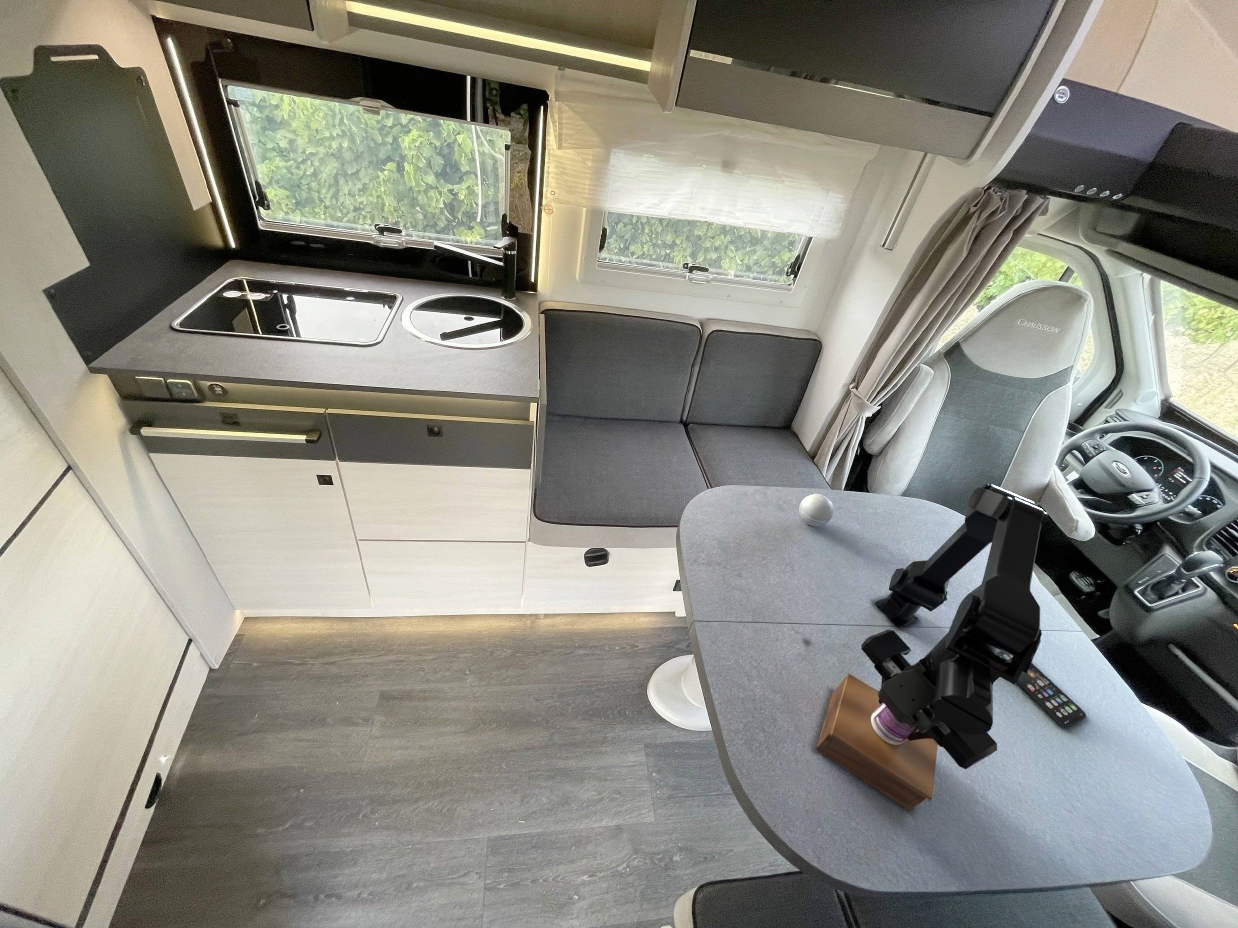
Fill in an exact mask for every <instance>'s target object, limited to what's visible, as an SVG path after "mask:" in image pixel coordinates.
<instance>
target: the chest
mask: <svg viewBox="0 0 1238 928" xmlns="http://www.w3.org/2000/svg"><path fill="white" fill-rule="evenodd" d="M846 677H847V675H846V676H845V678H843V680H842V681H841V682H840V684H838V685H837V687H836V688H835V689H834V690H833V692H832V693H831V697H830V700H829V703H828V707H827V710H826V713H825V717H824V720H823V724H822V727H821V729H820V733H819V736H818V740H817V744H816V747H815V748H816V750H818V751H819V752H820V753H822V754H823V755H825V756H826V757H828V758H830V760H833V761H834V762H835V763H837V764H839V765H840V766H842V767H843V768H845V769H846V770H847V771H849V772H850V773H852V774H854V775H855V776H856V777H858V778H859V779H861V780H863V781H864V782H866V783H867V784H869V785H870V786H872V787H873V788H875V789H876V790H878V791H879V792H880V793H882V794H883V795H885V796H887V797H888V798H890V799H892V800H893V801H894V802H896V803H897V804H899V805H900V806H902V807H903V808H905V809H907V810H908V811H911V810H912V809H915V808H916V807H917V806H918V805H920V804H921V803H923V802H924V801H926V800H927V799H926V798H924V797H923V796H921V795H920V794H918V793H917V792H915V791H914V790H912V789H911V788H909V787H907V786H906V785H904V784H903V783H901V782H900V781H898V780H897V779H895V778H894V777H892V776H890V775H889V774H887V773H886V772H884V771H883V770H881V769H880V768H878V767H877V766H875V765H873V764H872V763H870V762H869V761H867V760H866V759H864V758H863V757H861V756H860V755H858V754H856V753H855V752H853V751H852V750H850V749H849V748H847V747H846V746H844V745H843V744H841V743H839V742H838V741H836V740H835V739H833V738H832V737H830V734H831V730H832V727H833V723H834V720H835V716H836V713H837V709H838V705H839V702H840V698H841V695H842V691H843V688H844V684H845V680H846Z"/></svg>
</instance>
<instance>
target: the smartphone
mask: <svg viewBox="0 0 1238 928" xmlns="http://www.w3.org/2000/svg"><path fill="white" fill-rule="evenodd" d="M997 656H999V657H1001V658H1003V659H1005V660H1007V661H1009V662H1011V659H1012V657H1013V656H1012V655H1008V654H1006V653H1005V652H1003V651H1001V650H999V651H998V652H997ZM1016 684H1017V685H1018V686H1020V687H1021V688H1022V689H1023V690H1024V692H1025V693H1026V694H1028V696H1030V697H1031V699H1033V700H1034V701H1035V703H1037V704H1038V705H1039V706H1040V707H1041V708H1042V709H1043V710H1044V711H1045V712H1046V713H1047V714H1048V715H1049V716H1050V718H1052V719H1053V720H1054V721H1055V722H1056V723H1057V724H1058V725H1060V726H1061V727H1062V728H1070V727H1071V726H1073V725H1075V724H1076V723H1079V722H1081V721H1082V720H1084V719H1086V718H1087V714H1086V712H1085V711H1084V710H1083V709H1082V708H1081V707H1080V706H1079V705H1077V704H1076V703H1075V702H1074V700H1072V699H1071V698H1070V697H1069V696H1068V695H1067V694H1066V693H1065V692H1064V691H1063V690H1061V689H1060V688H1059V687H1058V686H1057V685H1056V684H1055V683H1054V682H1053V680H1051V679H1050V678H1049V677H1047V675H1046V674H1044V672H1042V671H1041V670H1040V669H1039V668H1037V666H1036V665H1034V664H1033V662H1031V665H1030V667H1029V669H1028V672H1027V674H1026V673H1021V675H1020V677H1019V679H1018V680H1017V682H1016Z"/></svg>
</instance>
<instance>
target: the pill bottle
mask: <svg viewBox="0 0 1238 928" xmlns="http://www.w3.org/2000/svg"><path fill="white" fill-rule="evenodd" d="M871 723H872V726H873V728H874V730H875V732H876V733H877V734H878V736H879V737H881V738H882V739H883V740H884V741H886V742H888V743H890V744H893V745H899V744H902V743H903V742H904V741H906V740H907V738H908V737H909V736H910V735H911V734H913V733H915V732H916V731H917V730H918V729H917V728H913V729H911V728H910V726H909V725H908V724H907V723H906V724H903V723H900V722H898V721H897V720H896V719H895V718H894V716H893V714H892V713H891V712H890V710H889V709H888V708H887V707H886V705H885V704H884V703H882V704H881V705H880V706H879V707H878V708H877V709H876V710H875V711H874V712H873V714H872V716H871Z"/></svg>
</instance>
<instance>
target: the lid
mask: <svg viewBox="0 0 1238 928" xmlns="http://www.w3.org/2000/svg"><path fill="white" fill-rule="evenodd" d="M846 676H847V677H846ZM846 676H845V677H846V680H845V684H844V688H843V691H842V695H841V698H840V702H839V705H838V709H837V713H836V716H835V720H834V723H833V727H832V730H831V734H830V737H832V738H833V739H835V740H836V741H838V742H839V743H841V744H843V745H844V746H846V747H847V748H849V749H850V750H852V751H853V752H855V753H856V754H858V755H860V756H861V757H863V758H864V759H866V760H867V761H869V762H870V763H872V764H873V765H875V766H877V767H878V768H880V769H881V770H883V771H884V772H886V773H887V774H889V775H890V776H892V777H894V778H895V779H897V780H898V781H900V782H901V783H903V784H904V785H906V786H907V787H909V788H911V789H912V790H914V791H915V792H917V793H918V794H920V795H921V796H923V797H924V798H926V799H925V800H927V801H929V802H931V801H932V800H933V799H934V789H935V788H934V787H935V777H936V769H937V768H936V767H937V755H938V747H939V745H938V744H937V743H936V742H935V741H934V739H919V740H912V741H909V740H908V739H907V740H906V741H904V742H903V743H902V744H899V745H893V744H890V743H888V742H886V741H884V740H883V739H882V738H881V737H879V736H878V734H877V733H876V732H875V730H874V728H873V726H872V723H871V716H872V714H873V712H874V711H875V710H876V709H877V708H878V707H879V706H880V705H881V704H880V703H879V696H878V693H879V691H880V690H878V689H876V688H875V687H873V686H871V685H869V684H868V683H866V682H864V681H863V680H861V679H859V678H858V677H856V676H854V675H852V674H850V673H848V674H847V675H846ZM917 731H919V730H917ZM917 731H916V732H917Z"/></svg>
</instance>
